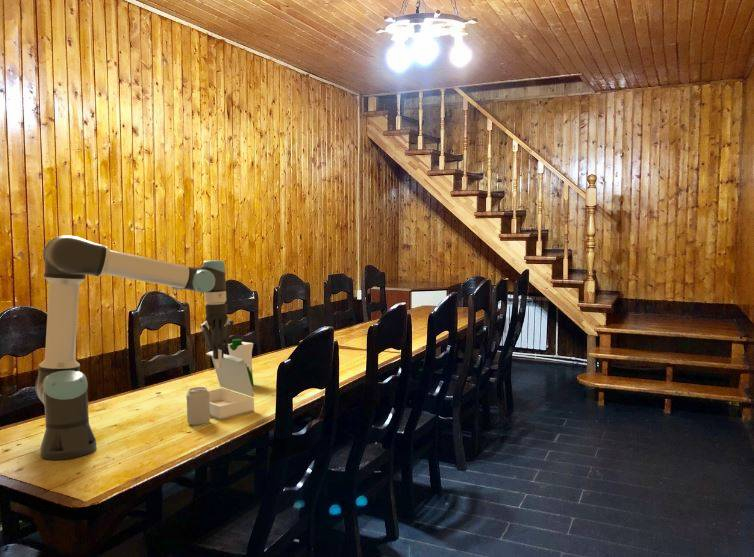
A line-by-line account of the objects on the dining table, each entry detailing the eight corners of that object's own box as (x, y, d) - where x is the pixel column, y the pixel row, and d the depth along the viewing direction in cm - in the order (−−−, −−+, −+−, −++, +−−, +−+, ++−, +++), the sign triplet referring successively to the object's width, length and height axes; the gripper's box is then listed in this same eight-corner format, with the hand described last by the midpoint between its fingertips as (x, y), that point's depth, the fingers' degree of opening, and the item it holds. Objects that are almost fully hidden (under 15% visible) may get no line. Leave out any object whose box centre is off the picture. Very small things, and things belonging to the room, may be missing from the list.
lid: (238, 361, 223) (244, 358, 224) (205, 353, 238) (211, 350, 240) (249, 399, 227) (254, 396, 228) (216, 388, 242) (221, 385, 244)
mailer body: (220, 420, 219) (219, 406, 218) (188, 408, 234) (187, 394, 234) (254, 411, 229) (253, 398, 228) (221, 400, 244) (221, 387, 244)
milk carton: (226, 386, 266) (225, 339, 264) (241, 382, 273) (240, 336, 271) (241, 389, 261) (240, 341, 259) (257, 384, 268) (255, 338, 267)
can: (203, 427, 212) (202, 391, 211) (183, 425, 213) (182, 390, 212) (213, 420, 219) (212, 386, 218) (194, 419, 221) (192, 385, 220)
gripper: (205, 305, 221) (208, 372, 223) (236, 301, 230) (239, 365, 232) (194, 304, 226) (198, 369, 228) (225, 300, 235) (228, 362, 237)
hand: (218, 367), depth 230 cm, fingers closed
